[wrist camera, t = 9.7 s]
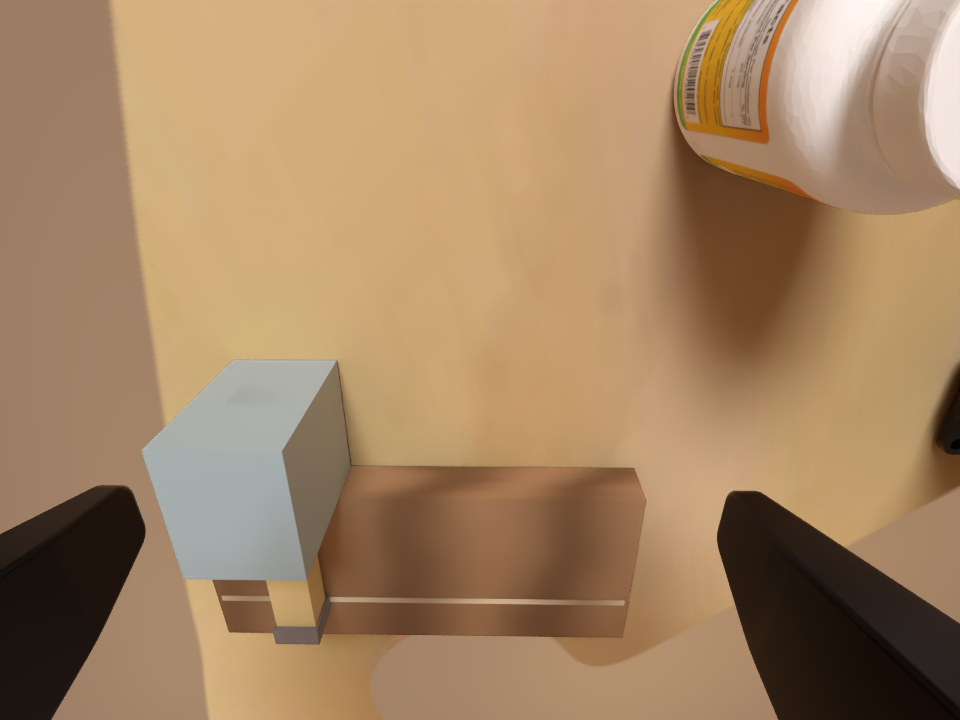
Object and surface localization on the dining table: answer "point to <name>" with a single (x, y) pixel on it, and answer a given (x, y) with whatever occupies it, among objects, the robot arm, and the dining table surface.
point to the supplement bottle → (828, 98)
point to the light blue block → (257, 483)
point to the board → (471, 554)
